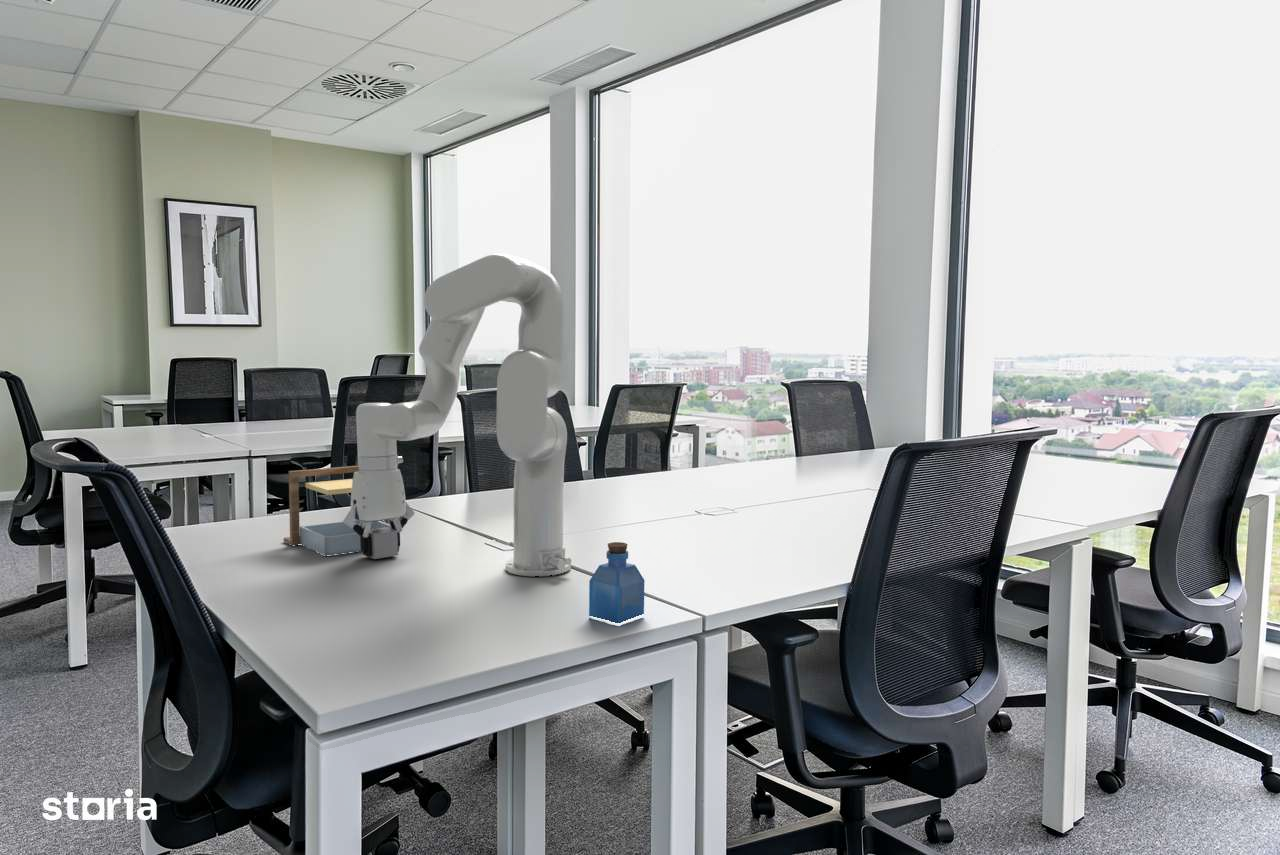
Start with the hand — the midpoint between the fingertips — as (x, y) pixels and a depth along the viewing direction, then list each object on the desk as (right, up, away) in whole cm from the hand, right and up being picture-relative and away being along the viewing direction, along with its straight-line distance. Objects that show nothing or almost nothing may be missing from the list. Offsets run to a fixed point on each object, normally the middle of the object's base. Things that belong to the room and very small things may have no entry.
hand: (380, 552), depth 173 cm
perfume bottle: (+49, -5, -37) cm, 61 cm away
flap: (-10, +12, +9) cm, 18 cm away
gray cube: (0, -1, 0) cm, 1 cm away
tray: (-10, 0, +10) cm, 14 cm away
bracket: (-16, +1, +17) cm, 23 cm away
